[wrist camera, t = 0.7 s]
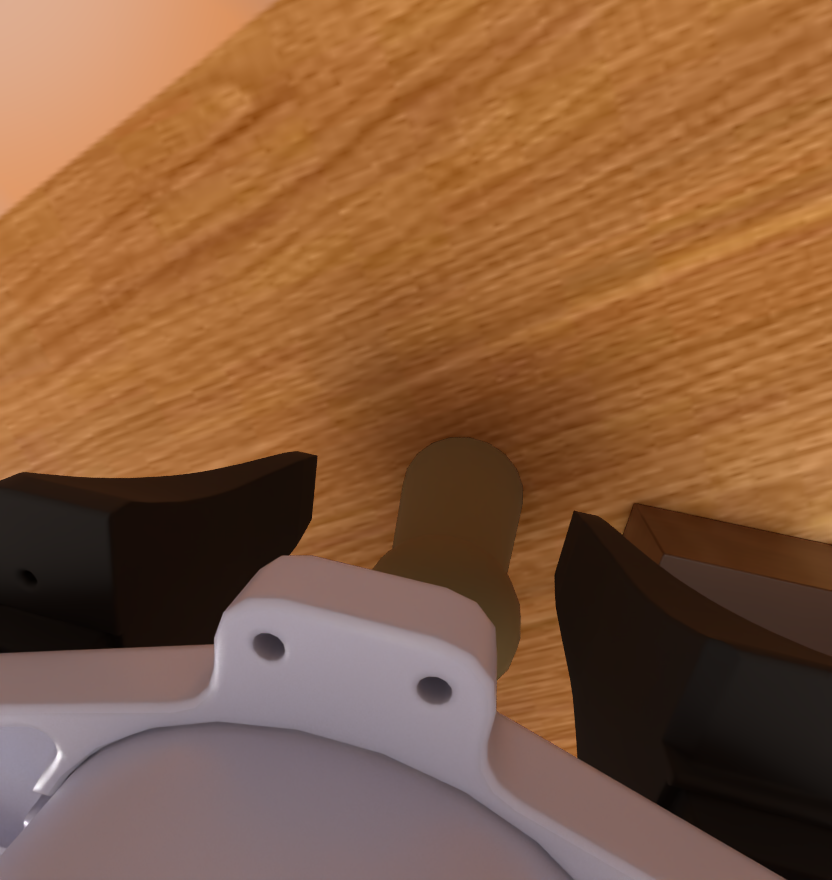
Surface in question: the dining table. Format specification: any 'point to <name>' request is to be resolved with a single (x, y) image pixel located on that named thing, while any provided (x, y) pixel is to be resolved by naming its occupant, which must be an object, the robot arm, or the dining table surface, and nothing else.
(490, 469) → the olive rounded upright piece
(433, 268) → the dining table surface
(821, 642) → the walnut block
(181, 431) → the dining table surface
